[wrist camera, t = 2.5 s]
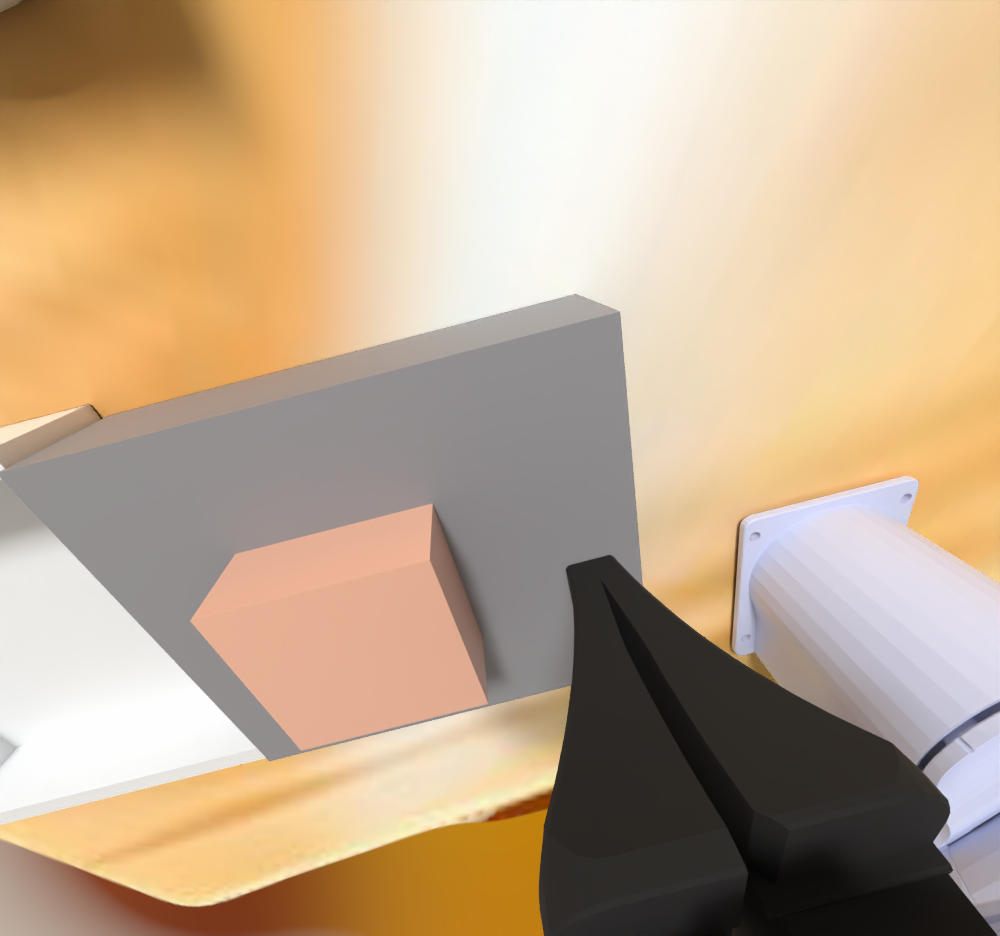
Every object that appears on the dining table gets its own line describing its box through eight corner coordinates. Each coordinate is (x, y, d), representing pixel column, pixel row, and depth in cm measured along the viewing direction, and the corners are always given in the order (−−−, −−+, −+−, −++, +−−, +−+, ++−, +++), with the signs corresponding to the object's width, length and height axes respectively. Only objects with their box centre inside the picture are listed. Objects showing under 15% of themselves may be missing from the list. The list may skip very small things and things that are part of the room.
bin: (297, 681, 21) (272, 756, 18) (20, 751, 21) (-52, 837, 18) (89, 404, 14) (-12, 450, 11) (-330, 513, 14) (-550, 589, 11)
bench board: (614, 593, 21) (649, 665, 17) (299, 673, 21) (269, 761, 17) (575, 294, 14) (619, 311, 10) (108, 415, 14) (-4, 473, 10)
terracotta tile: (482, 637, 15) (488, 703, 13) (322, 677, 15) (301, 750, 13) (432, 503, 12) (429, 559, 10) (235, 554, 12) (189, 620, 10)
